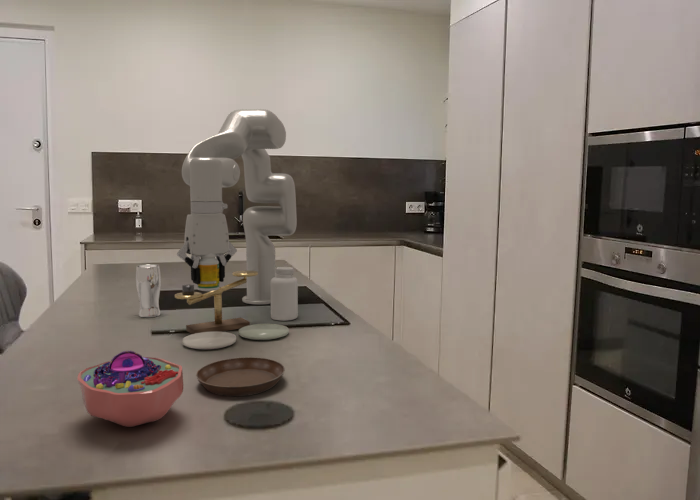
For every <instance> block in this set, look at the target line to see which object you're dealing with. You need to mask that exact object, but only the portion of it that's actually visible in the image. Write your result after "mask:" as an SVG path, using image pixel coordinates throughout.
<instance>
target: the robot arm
mask: <svg viewBox="0 0 700 500" xmlns="http://www.w3.org/2000/svg"><path fill="white" fill-rule="evenodd" d="M286 140H287V131H286V128H285V126H284V123H283V122H282V120H280V118H279V117H278V116H277V115H276V114H275V113H274V112H272V111H270V110H268V109H261V108H260V109H258V108H257V109H243V108H242V109H236V110H233V111H230V113H229V114H227V116H226V118H225V120H224V122H223V124H222V126H221V127H220V129H219V131H218V133H217V134H213V136H210V137H208V138H205V139H204V140H202V141H200V142H198V143H196V144H195V145H194V146H193V147H191V148H190V150H189V151H188V153H187V154H186V157H185V158H184V161H183V163H182V167H181V177H182V180H183V182H184V183H185V184H186V185H187V186H189V187H190V188H189V195H190V214H187V215H186V220H185V226H184V228H185V229H184V241H183V242H184V243H183V245H182V246H181V247H180V248H179V250H178V251H177V253H176V255H177V257H179V258H180V259H181V260H183V262H185V264H187V265H188V266H189V268H190V279H191V281H192V284H195V285H197V284H200V268H198V263H199V259H201V257H200V256H205V255H208V254H210V253H212V254H215V255H216V257H215V258H216V259H217V260H218V261H219V283H224V280H225V279H224V278H225V277H226V266H227V263H228V262H229V261H230V260H231V259H232V257H233V256H234V255H235V254H237V252H238V250H237V248H236V247H235V246H234V245H233V244H232V242H230V238H229V228H228V221H227V218H226V215H225V214H224V213H223V212H224V210H228V206H229V205H228V204H227V203H224V201H223V188H231V187H234V186H235V185H236V184H237V183H238V182H239V180H240V177H241V170H240V166H239V163H237V162H236V160H235V159H237V158H239V157H241V159H242V162H243V175H244V189H245V195H246V198H247V200H248V201H249V202H251V203H258V204H260V203H261V204H279V206H272V205H271V206H270V205H267V206H266V205H256V206H255V205H254V206H251V207H247V208H246V209H245V210H244V212H243V214H242V224H243V229H244V230H243V231H244V237H245V246H246V247H245V252H246V254H245V255H246V256H245V257H246V262H245V263H246V271H257V272H258V275H256V276H250V277H247V280H246V281H247V282H246V295H245V296H243V297H242V298H241V299H242V303H244V304H248V305H260V306H261V305H271V279H272V278H273V277H276V275H275V274H276V273H275V268H276V247H275V244H274V243H273V241H272V240H271V239H270V238H269V236H274V237H275V236H276V237H277V236H284V237H285V236H291V235H294V233H295V232H296V230H297V225H298V224H297V222H298V220H297V217H298V216H297V201H296V200H297V199H296V197H297V196H296V185H295V181H294V179H293V178H294V177H292V175H290V174H288V173H281V172H280V173H278V172H277V173H276V172H275V173H274V172H272V165H271V156H270V155H269V153H268V151H267V150H278V149H281V148H283V147H284V145H285V143H286ZM188 255H190V257H189V256H188Z"/></svg>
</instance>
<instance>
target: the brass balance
mask: <svg viewBox="0 0 700 500" xmlns="http://www.w3.org/2000/svg"><path fill="white" fill-rule="evenodd" d="M231 275H232V276H233V277H236V278H237V277H239V278H241V277H243V278H241V279H238V280H236V281H234V282H231V283H228V284H226V285H223V286H219V289H218V290H214V291H206V292H204V293H202V292H198V291H195V285H194V284H191V283H190V284H182V286H181V290H182V291H181V292H177V293H175V294H174V298H175V299H177V300H186V303H187V304H188V305H189V306H191V305H194V304H196V303H198V302H201V301H203V300H206V299H208V298H211V297H213V303H214V304H213V305H214V307H213V308H214V309H213V310H214V314H213V315H214V321H213V320H212V321H207V322H199V323H191V324H186V325H185V330H186V332H188V333H190V335H191V334H195V333H201V332H226V331H233V330H239V329H240V328H242V327H245V326H248V325H251V322H250V321H249V320H247V319H246V318H242V317H235V318H228V319H223V301H222V300H223V299H222V294H223V292H226V291H229V290H231V289H234V288H236V287H240V286H242V285H244V284H247V277H250V276H256V275H258V272H257V271H247V270H236V271H233V272H232V274H231Z"/></svg>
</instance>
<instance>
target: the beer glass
mask: <svg viewBox="0 0 700 500" xmlns="http://www.w3.org/2000/svg"><path fill="white" fill-rule="evenodd" d="M135 268H136V269H135V270H136V271H135V283H136V284H135V286H136V290H137V296H138V301H139V311H138V317H140V318H143V319H144V318H145V319H146V318H147V319H149V318H156V317H159V316H160V315H161V311H160V305H159V300H160V293H161V283H162V282H161V281H162V280H161V279H162V277H161V276H162V275H161V269H160V265H159V264H151V263H149V264H139V265H136V266H135Z"/></svg>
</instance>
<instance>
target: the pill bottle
mask: <svg viewBox="0 0 700 500" xmlns="http://www.w3.org/2000/svg"><path fill="white" fill-rule="evenodd" d="M275 273H276V274H275V275H276V277H273V278H272V279H271V304H270V318H271V319H272V320H274V321H284V322H285V321H293V320H295V319H298V314H299V312H298V311H299V310H298V309H299V307H298V305H299V303H298V301H299V299H298V298H299V297H298V295H299V293H298V291H299V286H298V279H297V277H295V276H293V275H294V267H292V266H291V267H290V266H277V267H275Z"/></svg>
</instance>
